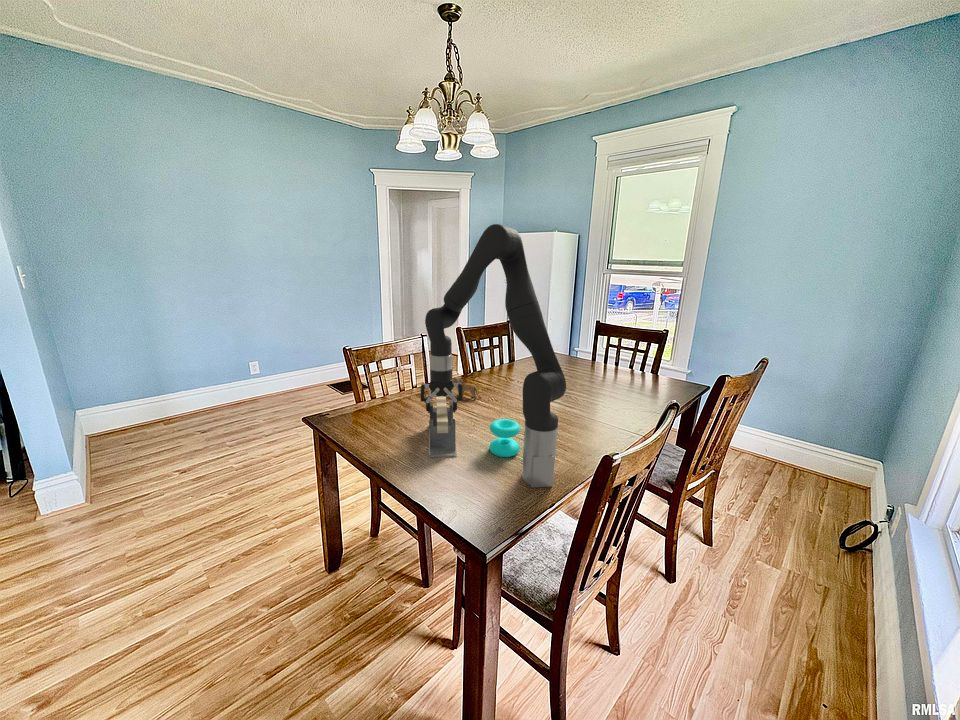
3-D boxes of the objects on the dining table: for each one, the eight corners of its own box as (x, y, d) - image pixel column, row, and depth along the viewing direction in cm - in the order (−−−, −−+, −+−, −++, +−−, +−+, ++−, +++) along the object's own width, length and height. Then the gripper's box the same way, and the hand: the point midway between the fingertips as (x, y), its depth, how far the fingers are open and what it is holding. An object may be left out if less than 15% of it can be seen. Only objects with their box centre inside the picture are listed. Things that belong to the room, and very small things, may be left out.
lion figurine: (450, 396, 177) (450, 377, 174) (455, 392, 181) (455, 374, 179) (479, 401, 171) (479, 382, 169) (483, 397, 176) (484, 378, 174)
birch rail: (448, 432, 123) (448, 421, 122) (437, 433, 122) (436, 421, 121) (445, 406, 144) (445, 396, 143) (436, 406, 143) (436, 396, 142)
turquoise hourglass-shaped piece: (513, 416, 131) (525, 428, 122) (512, 442, 134) (523, 456, 125) (486, 419, 129) (495, 432, 119) (485, 446, 131) (494, 460, 122)
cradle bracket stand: (456, 456, 124) (456, 426, 121) (428, 457, 123) (428, 427, 120) (453, 424, 147) (452, 399, 144) (429, 425, 146) (428, 399, 143)
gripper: (419, 370, 124) (420, 417, 128) (463, 369, 125) (463, 415, 130) (420, 364, 131) (421, 408, 135) (461, 363, 132) (461, 407, 137)
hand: (441, 411), depth 132 cm, fingers open, 8 cm apart
